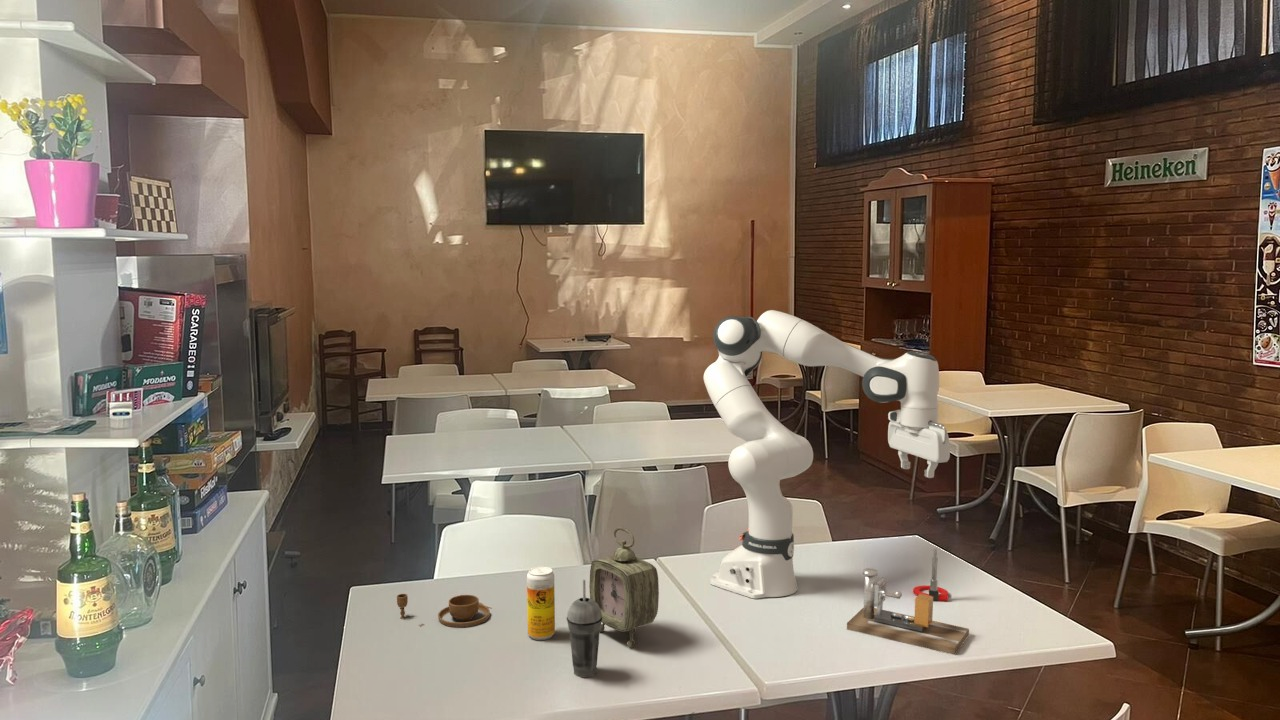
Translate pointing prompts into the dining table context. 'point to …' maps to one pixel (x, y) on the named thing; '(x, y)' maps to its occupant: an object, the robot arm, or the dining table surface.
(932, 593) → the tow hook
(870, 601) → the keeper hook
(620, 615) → the tabletop clock
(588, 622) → the beverage cup
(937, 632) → the board
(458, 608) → the place setting
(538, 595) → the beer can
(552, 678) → the dining table surface
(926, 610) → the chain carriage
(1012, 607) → the dining table surface
